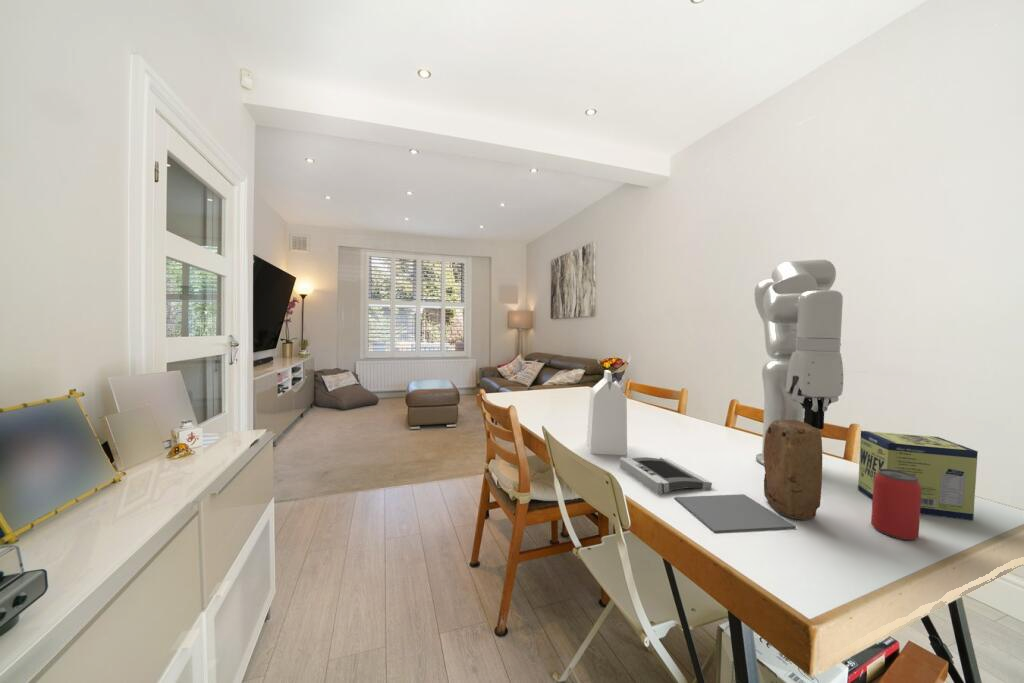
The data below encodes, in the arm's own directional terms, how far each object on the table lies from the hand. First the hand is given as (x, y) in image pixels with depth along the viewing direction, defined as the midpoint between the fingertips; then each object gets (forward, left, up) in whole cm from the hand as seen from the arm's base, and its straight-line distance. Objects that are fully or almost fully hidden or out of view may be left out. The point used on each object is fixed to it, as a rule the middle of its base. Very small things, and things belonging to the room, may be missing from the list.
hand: (813, 427), depth 80 cm
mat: (+19, 0, -19) cm, 27 cm away
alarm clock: (+24, -19, -19) cm, 37 cm away
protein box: (-27, 0, -19) cm, 33 cm away
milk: (+31, -43, -19) cm, 57 cm away
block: (+5, 0, -19) cm, 20 cm away
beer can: (-9, +10, -19) cm, 23 cm away
